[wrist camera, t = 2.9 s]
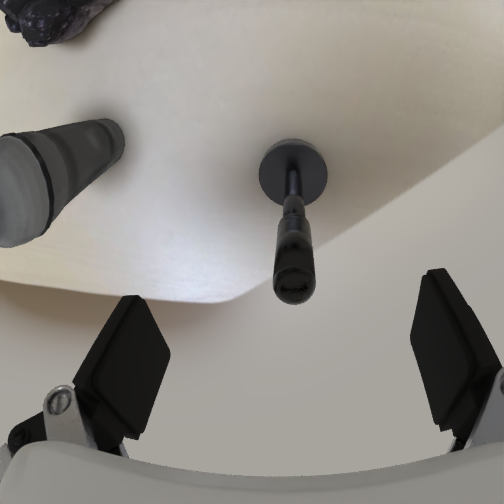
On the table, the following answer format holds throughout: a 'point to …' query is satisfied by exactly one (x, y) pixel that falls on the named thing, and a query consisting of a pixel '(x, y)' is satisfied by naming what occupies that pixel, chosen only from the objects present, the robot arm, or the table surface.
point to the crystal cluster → (49, 18)
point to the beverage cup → (50, 173)
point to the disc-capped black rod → (293, 213)
